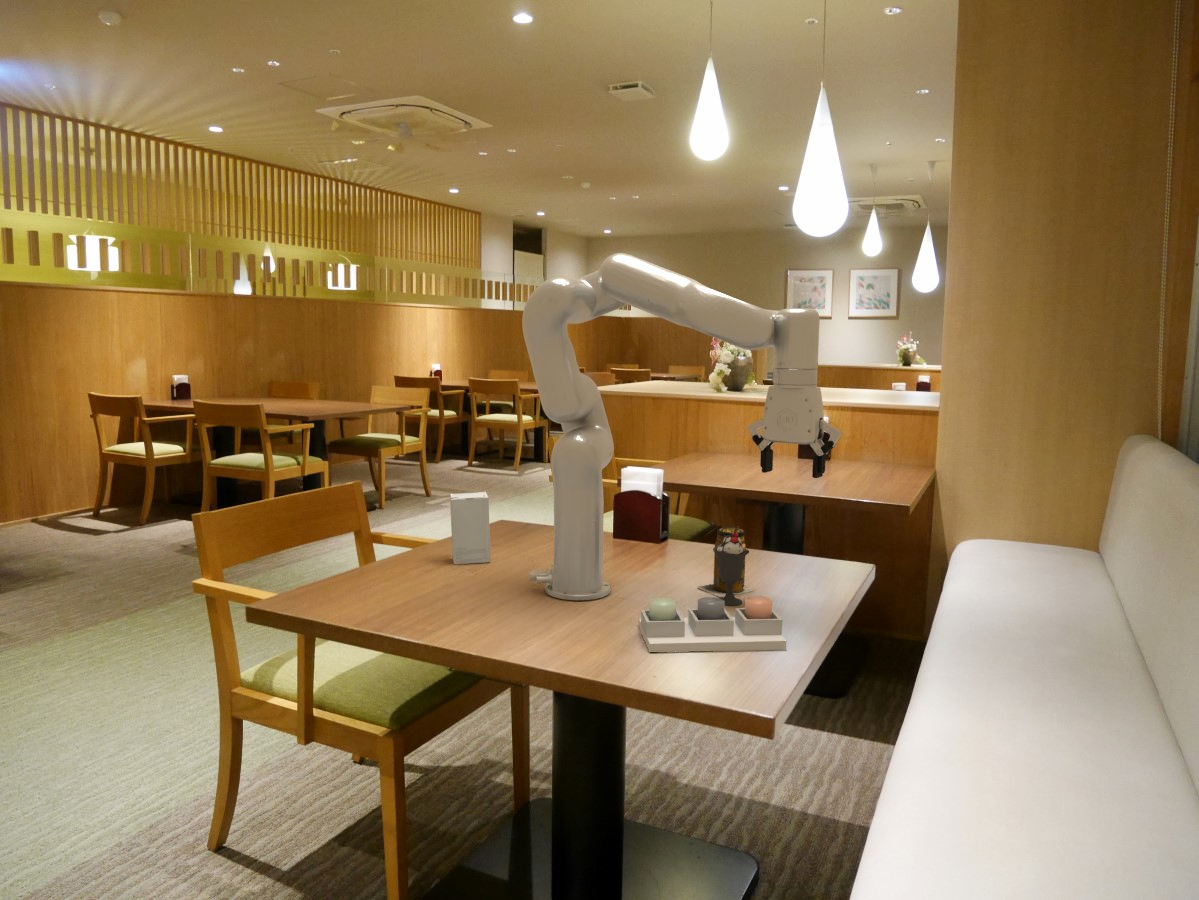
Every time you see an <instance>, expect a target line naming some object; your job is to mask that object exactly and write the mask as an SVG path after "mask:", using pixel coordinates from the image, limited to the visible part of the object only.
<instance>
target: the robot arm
mask: <svg viewBox="0 0 1199 900" xmlns="http://www.w3.org/2000/svg"><path fill="white" fill-rule="evenodd" d="M625 306H630V307H632V308H636V309H638V310H641V311H643V312H646V313H647V314H648V313H649V314H651V315H652V316H656V317H658V318H661V319H663V320H666V321H668V322H670V323H673V324H675V325H678V326H682V327H687V328H690V329H691V330H692V329H693V330H695V331H697V332H700V333H702V334H705V335H706V336H709V337H712V338H715V339H718V340H719V341H721V342H725V343H727V344H730V345H731V346H734V347H738V348H740V349H743V350H747V351H756V350H757V351H758V350H762V349H771V348H774V361H773V362H774V364H773V365H774V366H773V368H772V371H767V374H766V378H767V379H768V380H771V381H772V384H773V385H769V386H768V388H767V394H766V398H765V402H764V409H763V416H762V418H761V419H759V420H757V421H755V422H753V423H750V424H748V426H747V429H748V431H749V434H750V436H751V437H752V438H751V439H752V441H753V443H755V445H756V446H757V448H758V449H757V450H759V451H760V459H759V461H760V465H759V466H760V468H761V473H762V474H763V473H764V474H765V473H769V472H771V471H773V466H774V450H773V449H772V446H773V445H774V444H775V443H781V444H792V445H809V446H810V447H811V448H812V450H813V451H814V453H815V455H813V456H812V472H811V473H812V475H811V476H812V478H813V479H819V478H821V477H823V475H824V474H825V472H826V461H827V460H826V459H827V458H826V456H827V454H829V452H830V451H831V450H833V449H834V448H835V447H836V445H837V443H838V441H839V440H840V438H841V436H842V434H843V433H842V430H840V429H838V428H836V427H835V426H834V425H832V424H831V423H829V422H827V421H826V420H825V419H824V404H823V403H824V401H823V395H822V391H821V387H820V386H819V387H818V371H819V370H818V368H819V367H818V366H819V345H820V344H819V343H820V341H819V340H820V314H819V312H818V311H817V310H816V309H813V308H804V307H803V308H802V307H800V308H797V307H796V308H795V307H794V308H791V307H790V308H783V309H780V310H775V309H774V310H773V309H765V308H762V307H760V306H757V305H754V304H752V303H749V302H746V301H743V300H742V299H738V298H736V297H733V296H730V295H728V294H725V293H723V292H720V291H718V290H715V289H712V288H710V287H708V286H706V285H704V284H702V283H700V282H699V281H697V280H695V279H694V278H691V277H689V276H687V275H683V274H681V273H679V272H676V271H673V270H671V269H667V268H666V267H662V266H660V265H657V264H655V263H652V262H650V261H647V260H645V259H642V258H639V257H637V256H634V255H633V254H629V253H624V252H617V253H613V254H611V255H609V256H607V257H606V258H605V259H604V260H603V261H602V263H601V265H600V266H599V269H598V270H596V271H594V272H591V273H588V274H586V275H583V276H582V277H579V278H577V279H575V278H573V277H568V276H555V277H551V278H548V279H547V280H544V281H543V282H542V283H540V284H539V285H538V286H537V287H536V288H535V289H534V290H533V291H532V292H531V293H530V295H529V296H528V298H527V300H526V301H525V306H524V308H523V312H522V317H521V318H522V321H521V323H522V325H521V326H522V327H521V328H522V334H523V340H524V342H525V346H526V349H527V353H528V357H529V361H530V364H531V365H530V366H531V368H532V373H533V377H534V380H535V385H536V389H537V391H538V395H539V400H540V403H541V406H542V410H543V412H544V414H545V416H547V418H548V419H549V420H550V421H552V422H554V423H556V424H560V425H561V426H560V427H561V429H562V432H563V434H562V435H561V436H560V437H559V438H558V439H557V440H556V442H555V443H554V445H553V448H552V451H551V457H550V458H551V459H550V465H551V467H550V468H551V474H552V483H553V485H552V486H553V488H552V489H553V564H551V568H550V569H549V568H547V569H546V570H543V571H542V570H541V571H540V570H530V571H529V572H530V573H529V581H530V582H535V581H536V584H543V583H546V585H545V593H546V594H547V595H548V596H551V597H553V598H556V599H561V600H565V601H566V600H567V601H591V600H597V599H602V598H605V597H606V596H608V595H609V594H610V593H611V592H612V590H611V584H610V583H609V582H608V581H605V580H604V577H603V576H604V575H603V574H604V573H603V571H604V563H603V562H604V509H605V508H604V506H605V505H604V502H605V501H604V487H603V485H604V484H603V469H605V467H607V466H608V465H609V464H610V462H611V460H612V458H613V456H614V452H615V451H614V450H615V446H614V445H615V444H614V439H613V434H612V431H611V428H610V425H609V424H610V423H609V420H608V416H607V413H606V409H605V406H604V401H603V399H602V394H601V392H600V389H599V388H598V386H597V384H596V383H595V381H594V380H593V379H592V378H591V377H590V376H588V375H587V374H584V373H582V372H581V370H580V368H579V364H578V362H577V358H576V352H575V349H574V345H573V343H572V341H571V339H570V336H569V333H568V332H569V331H568V325H569V324H571V325H579V324H583V323H586V322H589V321H592V320H594V319H596V318H599V317H602V316H604V315H606V314H608V313H612V312H614V311H616V310H618V309H621V308H624V307H625ZM761 428H762V429H761ZM760 429H761V431H762V432H760ZM824 432H825V433H827V434H829V439H828V440H827V441H826V442H825V443H824V442H823V438H824V434H825V433H824ZM761 434H762V435H761Z"/></svg>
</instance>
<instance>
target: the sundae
mask: <svg viewBox="0 0 1199 900" xmlns="http://www.w3.org/2000/svg"><path fill="white" fill-rule="evenodd" d="M735 528H736V529H735V531H736V530H737V529H740V526H739V525H737V526H736V527H735ZM735 531H734V533H732V535H728V536H727V535H725V536H724V539H723V542H722V544H721V545H720V546H716V547H715V546H714V547H713V548H712V551H713V553H714V554H715V553H716V554H717V559H718V569H719V575H720V578H721V579H722V581H724V582H725V583H726V585H727V592H726V595H725V596H723V597H718V598H719V599H722V600H724V601H725V606H726V607H738V606H741V605H742V604H743V600H742V599H741V598H738V597H736V596H735V594H733V585H734V584H735V583H736V582H738V581H739V579H740V578H741V575H742V571H743V564H744V559H745V560H746V556H747V555H748V554H749V553H750V550H748V549H747V547H746V548H744V547H743V545H742V543H741V540H740V538H739V537H738V533H736V532H735Z"/></svg>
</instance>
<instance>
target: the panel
mask: <svg viewBox="0 0 1199 900" xmlns="http://www.w3.org/2000/svg"><path fill="white" fill-rule="evenodd" d="M687 615H688V617H683V615H682V614H681V612H680V611H679V609H677V608H676V621H650V620H649V609H641V610H640V618H638V628H639V631H640V633H641V635H643V636H642V638H643V640H645V641H644V643H645V642H646V643H645V645H647V646H646V648H647V647H648V648H647V650H648V649H649V650H648V653H649V652H667V653H686V652H685V651H713V652H744V651H745V652H750V651H751V652H753V651H758V650H759V651H786V650H787V643H788V642H787V640H786V638H785V637H784V636H783V634H782V633H783V632H782V631H783V619H782V618H781V617H780V616H779V615H778V614H777V613H776V611H775V610H774V608H772V619H746V617H745V607H741V608H740V607H739V608H738V607H737V608H734V616H731V615H730V614H729V612H728V611H727V610H726V608H724V620H698V619H697V608H688V614H687ZM675 651H676V652H675ZM679 651H680V652H679ZM682 651H683V652H682Z"/></svg>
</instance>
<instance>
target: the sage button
mask: <svg viewBox="0 0 1199 900" xmlns="http://www.w3.org/2000/svg"><path fill="white" fill-rule="evenodd" d="M648 604H649V605H648V607H649V608H648V610H649V620H650V621H676V609H677V601H676V600H675V599H672V598H669V597H668V598H667V597H655V598H652V599H650V600H649V603H648Z"/></svg>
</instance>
